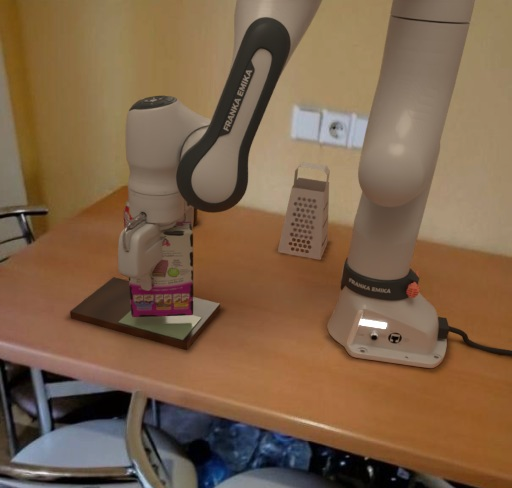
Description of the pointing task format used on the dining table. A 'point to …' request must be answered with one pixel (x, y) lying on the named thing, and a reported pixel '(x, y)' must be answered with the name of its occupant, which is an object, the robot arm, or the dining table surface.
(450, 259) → the dining table surface
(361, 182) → the robot arm
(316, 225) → the grater
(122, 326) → the board
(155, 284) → the candy bar box
